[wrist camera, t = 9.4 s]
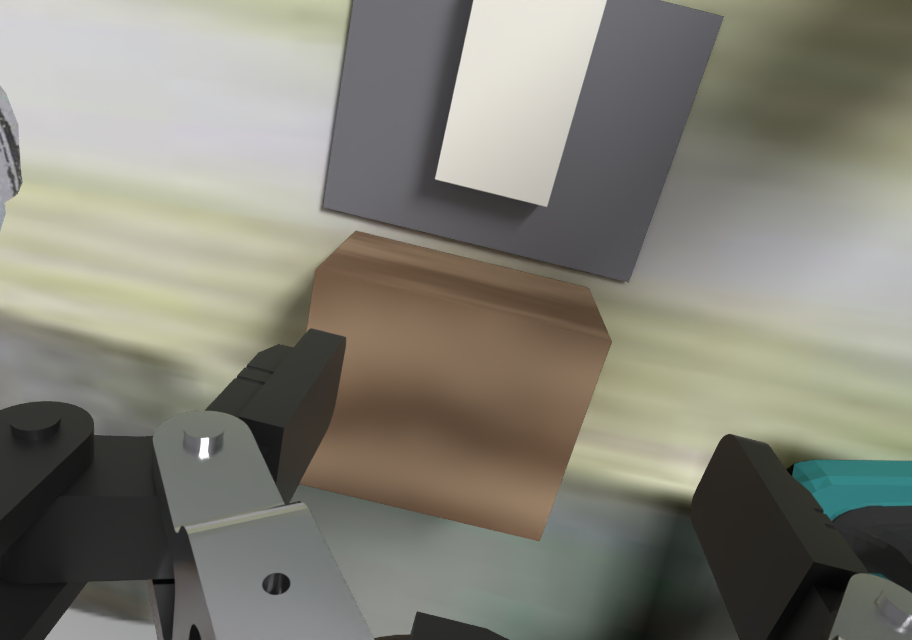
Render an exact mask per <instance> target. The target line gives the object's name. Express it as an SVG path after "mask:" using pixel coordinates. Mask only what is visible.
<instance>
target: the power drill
mask: <svg viewBox="0 0 912 640" xmlns="http://www.w3.org/2000/svg"><path fill="white" fill-rule="evenodd" d="M792 476H793V477H794V478H795V479H796V480H797V481H798V482H800V483H801V484H802V485H803V486H804V487H805V488H806V489H808V490H809V491H810V492H811V494H812V495H813V496H814V498H815V499H816V500H817V502H818V503H819V505H820V506H821V507H822V509H823V510H824V512H823V514H827V516H828V517H829V518H830V520H831V521H832V522H833V524H834V525H835V530H838V531H839V532H840V533H841V535H842V536H843V538H844V539H845V540H846V542H847V543H848V544H849V546H850V547H851V549H852V550H853V551H854V553H855V554H856V555H857V557H858V558H859V560H860V561H861V562H862V564H863V565H864V566H865V568H866V569H867V571H868V572H869V573H870V574H872V575H875V576H879V577H882V578H884V579H887V580H889V581H891V582H893V583H895V584H897V585H899V586H901V587H903V588H904V589H906V590H908V591H909V592H911V593H912V461H873V460H810V461H804V462H798V463H795V464H794V468H793V474H792Z"/></svg>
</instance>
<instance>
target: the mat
mask: <svg viewBox="0 0 912 640" xmlns="http://www.w3.org/2000/svg"><path fill="white" fill-rule="evenodd" d="M472 5H473V0H353V7H352V14H351V20H350V27H349V34H348V41H347V47H346V54H345V61H344V68H343V74H342V81H341V88H340V95H339V102H338V108H337V115H336V122H335V129H334V135H333V142H332V149H331V156H330V162H329V169H328V176H327V183H326V190H325V196H324V203H323V207H324V208H328V209H332V210H336V211H340V212H345V213H349V214H353V215H357V216H361V217H365V218H369V219H373V220H377V221H381V222H385V223H389V224H393V225H397V226H402V227H406V228H410V229H414V230H418V231H422V232H426V233H430V234H434V235H438V236H442V237H446V238H450V239H454V240H459V241H463V242H467V243H471V244H475V245H479V246H483V247H487V248H491V249H495V250H499V251H503V252H507V253H511V254H516V255H520V256H524V257H528V258H532V259H536V260H540V261H544V262H548V263H552V264H556V265H560V266H564V267H568V268H573V269H577V270H581V271H585V272H589V273H593V274H597V275H601V276H605V277H609V278H613V279H617V280H621V281H625V282H629V280H630V277H631V275H632V272H633V269H634V266H635V263H636V261H637V258H638V255H639V252H640V249H641V247H642V244H643V241H644V238H645V235H646V233H647V230H648V227H649V224H650V221H651V219H652V216H653V213H654V210H655V208H656V205H657V202H658V199H659V196H660V194H661V191H662V188H663V185H664V182H665V180H666V177H667V174H668V171H669V168H670V166H671V163H672V160H673V157H674V154H675V152H676V149H677V146H678V143H679V141H680V138H681V135H682V132H683V129H684V127H685V124H686V121H687V118H688V115H689V113H690V110H691V107H692V104H693V101H694V99H695V96H696V93H697V90H698V87H699V85H700V82H701V79H702V76H703V73H704V71H705V68H706V65H707V62H708V60H709V57H710V54H711V51H712V48H713V46H714V43H715V40H716V37H717V34H718V32H719V29H720V26H721V23H722V20H723V18H724V16H720V15H716V14H712V13H708V12H704V11H700V10H696V9H692V8H688V7H684V6H680V5H676V4H673V3H669V2H665V1H661V0H607V2H606V5H605V8H604V12H603V15H602V19H601V22H600V26H599V29H598V33H597V36H596V40H595V43H594V46H593V50H592V53H591V57H590V60H589V64H588V67H587V71H586V74H585V78H584V81H583V84H582V88H581V91H580V95H579V98H578V102H577V105H576V109H575V112H574V116H573V119H572V122H571V126H570V129H569V133H568V136H567V140H566V143H565V147H564V150H563V154H562V157H561V160H560V164H559V167H558V171H557V174H556V178H555V181H554V185H553V188H552V192H551V195H550V198H549V202H548V205H547V207H545V206H541V205H537V204H533V203H529V202H525V201H521V200H517V199H513V198H509V197H505V196H501V195H497V194H493V193H489V192H485V191H481V190H477V189H473V188H468V187H464V186H460V185H456V184H452V183H448V182H444V181H440V180H436V179H435V177H436V172H437V168H438V163H439V158H440V154H441V149H442V144H443V140H444V135H445V130H446V126H447V121H448V116H449V112H450V107H451V102H452V98H453V93H454V88H455V84H456V79H457V74H458V70H459V65H460V61H461V56H462V51H463V47H464V42H465V37H466V33H467V28H468V23H469V19H470V14H471V9H472Z"/></svg>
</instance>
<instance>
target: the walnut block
mask: <svg viewBox="0 0 912 640" xmlns="http://www.w3.org/2000/svg"><path fill="white" fill-rule="evenodd" d="M310 328H313V329H317V330H321V331H325V332H329V333H333V334H337V335H341V336H345V337H346V349H345V355H344V360H343V366H342V371H341V377H340V382H339V388H338V394H337V399H336V404H335V409H334V412H333V416H332V419H331V422H330V425H329V427H328V430H327V432H326V434H325V436H324V438H323V439H322V441H321V443H320V445H319V447H318V449H317V451H316V453H315V455H314V456H313V458H312V460H311V462H310V464H309V466H308V468H307V470H306V472H305V474H304V475H303V477H302V479H301V481H300V483H299V484H302V485H306V486H310V487H314V488H318V489H323V490H327V491H331V492H335V493H339V494H344V495H348V496H352V497H356V498H360V499H365V500H369V501H373V502H377V503H381V504H385V505H390V506H394V507H398V508H402V509H406V510H411V511H415V512H419V513H423V514H427V515H432V516H436V517H440V518H444V519H448V520H453V521H457V522H461V523H465V524H469V525H473V526H478V527H482V528H486V529H490V530H494V531H499V532H503V533H507V534H511V535H515V536H520V537H524V538H528V539H532V540H536V541H540V539H541V536H542V534H543V531H544V528H545V525H546V523H547V520H548V517H549V514H550V511H551V509H552V506H553V503H554V500H555V498H556V495H557V492H558V489H559V487H560V484H561V481H562V478H563V475H564V473H565V470H566V467H567V464H568V462H569V459H570V456H571V453H572V451H573V448H574V445H575V442H576V439H577V437H578V434H579V431H580V428H581V426H582V423H583V420H584V417H585V415H586V412H587V409H588V406H589V403H590V401H591V398H592V395H593V392H594V390H595V387H596V384H597V381H598V379H599V376H600V373H601V370H602V367H603V365H604V362H605V359H606V356H607V354H608V351H609V348H610V345H611V343H612V341H611V339H610V336H609V334H608V332H607V329H606V327H605V325H604V322H603V320H602V318H601V315H600V313H599V311H598V308H597V306H596V304H595V301H594V299H593V297H592V294H591V292H590V290H589V288H587V287H583V286H579V285H575V284H571V283H566V282H562V281H558V280H554V279H550V278H546V277H542V276H538V275H534V274H530V273H526V272H522V271H518V270H513V269H509V268H505V267H501V266H497V265H493V264H489V263H485V262H481V261H477V260H473V259H469V258H465V257H460V256H456V255H452V254H448V253H444V252H440V251H436V250H432V249H428V248H424V247H420V246H416V245H412V244H407V243H403V242H399V241H395V240H391V239H387V238H383V237H379V236H375V235H371V234H367V233H363V232H359V231H355V232H354V233H353V234H352V235H351V236H350V237H349V238H348V239H347V240H346V241H345V242H344V243H343V244H342V245H341V246H340V247H338V248H337V249H336V250H335V251H334V252H333V253H332V254H331V255H330V256H329V257H328V258H327V259H326V260H325V261H324V262H323V263H322V264H321V265H320V266H319V267H318V268H317V269H316V270H315V277H314V284H313V291H312V297H311V304H310V311H309V317H308V324H307V331H308V330H309V329H310ZM307 331H306V332H307Z"/></svg>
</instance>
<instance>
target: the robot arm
mask: <svg viewBox="0 0 912 640" xmlns="http://www.w3.org/2000/svg"><path fill="white" fill-rule="evenodd" d="M345 349H346V337H345V336H341V335H337V334H333V333H329V332H325V331H321V330H317V329H313V328H310V329H309V330H308V331H307V332H306V334H305V335H304V336H303V337H302V339H301V340H300V341H299V342H298V344H297V345H296V346H295V347H294V348H292V347H288V346H284V345H280V344H278V345H276V346H273V347H271V348H269V349H266V350H264V351H261V352H259V353H258V354H257V355H256V356H255V357H254V358H253V359H252V360H251V361H250V363H249V364H248V365H247V367H246V368H244V369H243V370H242V371H241V372H240V373H239V374H238V375H237V378H235V379H234V380H233V381H232V382H231V383H230V384H229V385H228V386H227V387H226V388H225V389H224V390H223V392H222V393H221V394H220V395H219V396H218V397H217V398H216V399H215V400H214V401H213V402H212V403H211V404H210V405H209V407H208V408H207V409H206V410H205V411H192V412H186V413H182V414H179V415H176V416H173V417H171V418H169V419H167V420H166V421H164V422H163V423H162V424H160V425H159V427H158V428H157V429H156V430H155V432H154V435H153V436H146V437H131V436H102V435H94V422H93V418H92V417H91V415H90V414H89V413H88V412H87V411H85V410H84V409H82V408H80V407H78V406H75V405H72V404H68V403H62V402H52V401H41V402H30V403H24V404H19V405H15V406H11V407H8V408H5V409H2V410H0V640H44V639H45V638H46V636H47V635H48V634H49V632H50V631H51V630H52V628H53V627H54V626H55V625H56V623H57V622H58V621H59V619H60V618H61V617H62V615H63V613H65V611H66V610H67V609H68V607H69V606H70V605H71V603H72V602H73V601H74V599H75V598H76V597H77V595H78V594H79V593H80V591H81V590H82V589H83V587H84V586H85V585H86V584H87V582H91V581H120V580H147V584H148V590H149V595H150V601H151V606H152V612H153V617H154V623H155V628H156V634H157V639H158V640H509V639H507V638H504V637H502V636H500V635H498V634H496V633H494V632H492V631H490V630H488V629H486V628H482V627H478V626H474V625H470V624H466V623H462V622H458V621H454V620H450V619H446V618H442V617H438V616H434V615H429V614H425V613H421V612H417V613H416V616H415V620H414V623H413V627H412V630H411V634H410V635H392V636H384V637H378V638H374V637H373V635H372V633H371V631H370V629H369V627H368V625H367V623H366V621H365V619H364V617H363V615H362V613H361V611H360V609H359V607H358V605H357V603H356V601H355V599H354V597H353V595H352V593H351V591H350V589H349V587H348V585H347V583H346V581H345V579H344V577H343V575H342V573H341V571H340V570H339V568H338V566H337V564H336V562H335V560H334V558H333V556H332V554H331V552H330V550H329V548H328V546H327V544H326V542H325V540H324V538H323V536H322V534H321V532H320V530H319V528H318V526H317V524H316V522H315V520H314V518H313V516H312V514H311V512H310V510H309V508H308V507H307V506H306V504H304V503H303V502H301V501H299V502H294V503H289V502H290V500H291V498H292V496H293V494H294V492H295V491H296V489H297V487H298V485H299V483H300V481H301V479H302V477H303V475H304V474H305V472H306V470H307V468H308V466H309V464H310V462H311V460H312V458H313V456H314V455H315V453H316V451H317V449H318V447H319V445H320V443H321V441H322V439H323V438H324V436H325V434H326V432H327V430H328V427H329V425H330V422H331V419H332V416H333V412H334V409H335V404H336V399H337V394H338V388H339V382H340V377H341V371H342V366H343V360H344V355H345ZM823 512H824V510H823V509H822V507H821V506H820V505H819V503H818V502H817V500H816V499H815V498H814V496H813V495H812V494H811V492H810V491H809V490H808V489H806V488H805V487H804V486H803V485H802V484H801V483H800V482H798V481H797V480H796V479H795V478H794V477H793V476H791V475H790V474H789V473H788V471H787V470H786V469H785V467H784V466H783V464H782V463H781V461H780V460H779V459H778V457H777V456H776V454H775V453H774V452H773V450H772V449H771V447H770V446H769V445H768V444H766V443H764V442H760V441H756V440H752V439H748V438H744V437H740V436H736V435H732V434H728V435H725V436H724V437H723V438H722V439H721V440H720V442H719V444H718V445H717V448H716V450H715V452H714V454H713V456H712V458H711V460H710V462H709V464H708V466H707V468H706V470H705V472H704V474H703V476H702V479H701V481H700V483H699V485H698V487H697V489H696V491H695V493H694V496H693V499H692V505H691V520H692V524H693V526H694V529H695V531H696V534H697V536H698V539H699V541H700V544H701V546H702V548H703V551H704V553H705V556H706V558H707V561H708V563H709V566H710V568H711V571H712V573H713V575H714V578H715V580H716V583H717V585H718V588H719V590H720V593H721V595H722V597H723V600H724V602H725V605H726V607H727V610H728V612H729V615H730V617H731V619H732V622H733V624H734V627H735V629H736V632H737V634H738V637H739V639H740V640H912V593H911V592H909V591H908V590H906V589H904V588H903V587H901V586H899V585H897V584H895V583H893V582H891V581H889V580H887V579H884V578H882V577H879V576H875V575H872V574H870V573H869V572H868V571H867V569H866V568H865V566H864V565H863V564H862V562H861V561H860V560H859V558H858V557H857V555H856V554H855V553H854V551H853V550H852V549H851V547H850V546H849V544H848V543H847V542H846V540H845V539H844V538H843V536H842V535H841V533H840V532H839V531H838V530H835V525H834V524H833V522H832V521H831V520H830V518H829V517H828V516H827V514H823Z"/></svg>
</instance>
